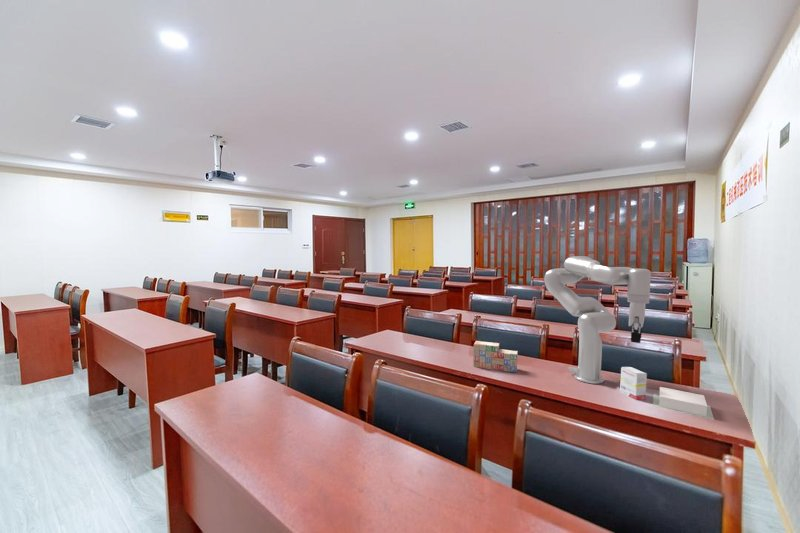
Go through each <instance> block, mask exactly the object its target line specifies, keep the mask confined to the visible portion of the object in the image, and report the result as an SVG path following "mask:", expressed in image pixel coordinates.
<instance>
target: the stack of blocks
mask: <svg viewBox="0 0 800 533" xmlns="http://www.w3.org/2000/svg"><path fill="white" fill-rule="evenodd" d="M518 354H519V353H518V350H509V349H503V348H502V349H501V348H500V342H499V343H498V342H491V341H490V342H489V341H481V340H475V342H474V344H473V367H475V368H480V369H489V370H494V371H502V372H510V373H517V371H518Z"/></svg>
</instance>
